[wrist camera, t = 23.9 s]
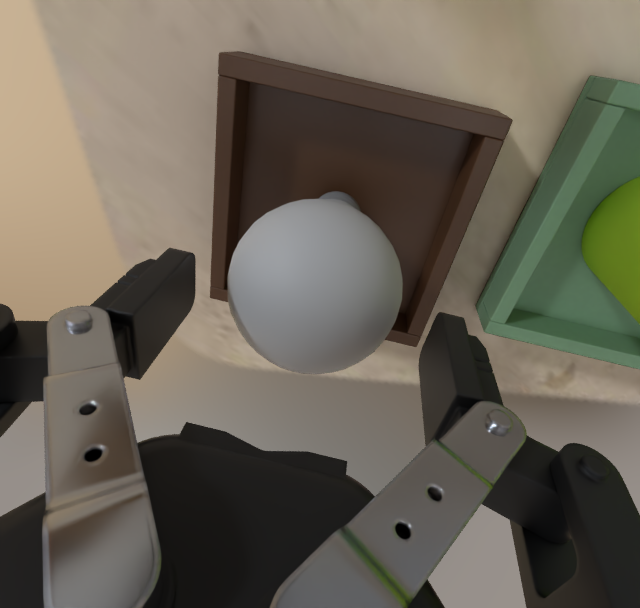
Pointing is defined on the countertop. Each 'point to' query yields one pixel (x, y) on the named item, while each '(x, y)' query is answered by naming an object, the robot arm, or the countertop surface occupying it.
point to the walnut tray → (351, 165)
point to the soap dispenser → (617, 245)
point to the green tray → (570, 237)
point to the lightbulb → (315, 285)
